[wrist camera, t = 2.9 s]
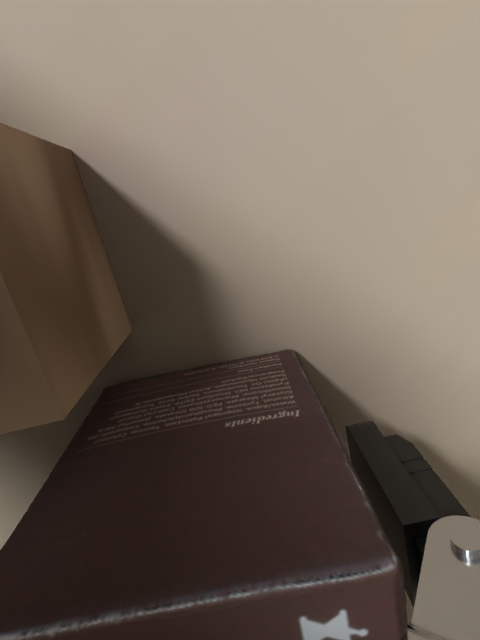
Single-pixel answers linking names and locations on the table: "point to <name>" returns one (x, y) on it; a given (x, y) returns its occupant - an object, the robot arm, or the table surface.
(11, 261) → the walnut block
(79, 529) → the box
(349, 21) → the table surface
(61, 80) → the table surface
